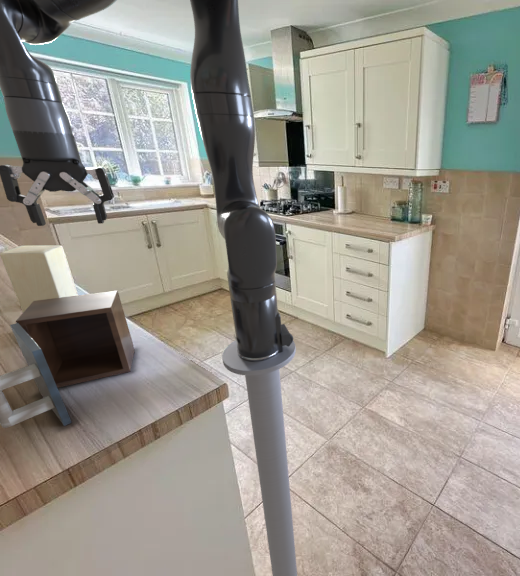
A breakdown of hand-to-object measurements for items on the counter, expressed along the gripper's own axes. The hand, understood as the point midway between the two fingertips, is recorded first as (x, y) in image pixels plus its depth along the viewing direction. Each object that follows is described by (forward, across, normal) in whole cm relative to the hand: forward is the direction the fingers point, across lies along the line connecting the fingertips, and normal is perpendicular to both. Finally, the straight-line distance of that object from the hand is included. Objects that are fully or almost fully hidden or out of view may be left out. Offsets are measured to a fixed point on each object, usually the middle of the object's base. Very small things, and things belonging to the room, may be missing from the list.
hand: (72, 223), depth 62 cm
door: (+29, -9, -17) cm, 35 cm away
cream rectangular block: (+30, -12, +17) cm, 36 cm away
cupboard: (+29, -3, -5) cm, 30 cm away
